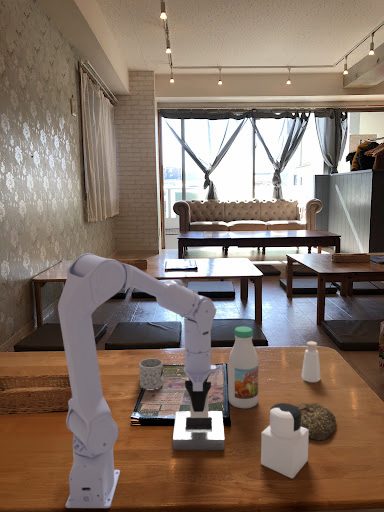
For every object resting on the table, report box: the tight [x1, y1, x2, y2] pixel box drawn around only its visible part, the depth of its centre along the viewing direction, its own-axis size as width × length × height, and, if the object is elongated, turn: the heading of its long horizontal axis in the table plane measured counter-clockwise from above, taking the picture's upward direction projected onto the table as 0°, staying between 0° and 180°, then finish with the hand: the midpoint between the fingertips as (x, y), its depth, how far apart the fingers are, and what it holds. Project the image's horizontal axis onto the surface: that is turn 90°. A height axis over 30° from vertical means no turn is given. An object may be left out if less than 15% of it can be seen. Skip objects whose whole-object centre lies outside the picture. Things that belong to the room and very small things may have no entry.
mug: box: [138, 357, 164, 389], centre depth 118 cm, size 10×7×7 cm
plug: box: [189, 392, 209, 418], centre depth 92 cm, size 4×4×6 cm
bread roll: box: [294, 402, 337, 441], centre depth 97 cm, size 13×12×5 cm
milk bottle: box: [227, 325, 259, 409], centre depth 106 cm, size 8×8×20 cm
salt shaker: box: [300, 340, 321, 383], centre depth 119 cm, size 5×5×11 cm
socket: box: [172, 410, 225, 451], centre depth 93 cm, size 11×11×2 cm
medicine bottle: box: [260, 402, 309, 479], centre depth 82 cm, size 7×7×12 cm
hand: (198, 405), depth 92 cm, fingers closed on plug, 4 cm apart
